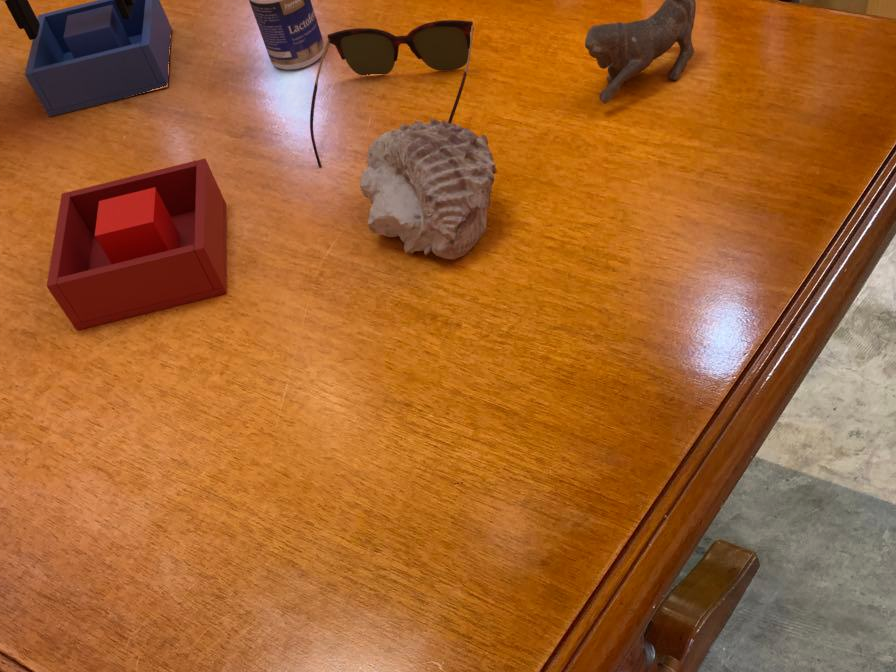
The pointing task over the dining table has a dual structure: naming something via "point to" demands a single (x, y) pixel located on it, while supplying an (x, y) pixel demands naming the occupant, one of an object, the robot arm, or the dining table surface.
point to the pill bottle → (289, 32)
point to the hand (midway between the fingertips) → (81, 23)
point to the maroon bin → (146, 278)
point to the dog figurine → (642, 43)
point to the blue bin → (99, 60)
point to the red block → (135, 226)
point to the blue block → (94, 32)
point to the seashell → (430, 187)
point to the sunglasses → (379, 49)
